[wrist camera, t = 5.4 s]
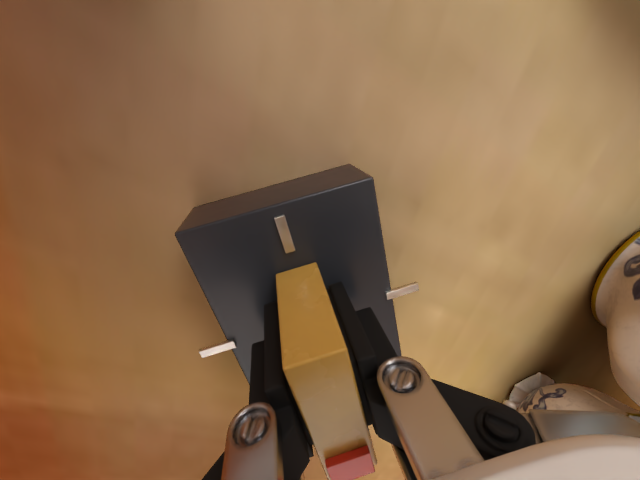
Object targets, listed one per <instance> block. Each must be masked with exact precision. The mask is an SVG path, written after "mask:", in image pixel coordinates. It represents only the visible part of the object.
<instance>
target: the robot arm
mask: <svg viewBox="0 0 640 480" xmlns="http://www.w3.org/2000/svg"><path fill="white" fill-rule="evenodd" d="M327 293H328V296H329V299H330V302H331V304H332V307H333V310H334V313H335V316H336V318H337V321H338V324H339V327H340V330H341V332H342V335H343V338H344V341H345V344H346V346H347V349H348V353H349V357H350V361H351V364H352V368H353V372H354V376H355V380H356V383H357V387H358V391H359V395H360V399H361V402H362V406H363V410H364V414H365V417H366V421H367V425H371V424H373V427H374V430H375V433H376V434H378V437H380V438H381V439H383V440H385V441H387V442H389V443H391V445H392V448H393V451H394V453H395V456H396V458H397V461H398V463H399V465H400V468H401V470H402V473H403V475H404V478H405V480H640V423H639V422H637V421H636V420H634V419H632V418H630V417H627V416H625V415H622V414H619V413H614V412H608V411H577V410H545V409H529V412H528V413H519V412H517V411H516V410H515V409H513V408H511V407H509V406H507V405H505V404H502V403H499V402H496V401H493V400H490V399H488V398H485V397H482V396H479V395H476V394H473V393H470V392H468V391H465V390H462V389H459V388H456V387H453V386H450V385H448V384H445V383H442V382H439V381H436V380H433V379H431V378H430V377H429V375H428V374H427V372H426V371H425V369H424V368H423V367H422V366H421V364H420V363H419V362H417V361H415V360H414V359H412V358H408V357H403V356H397V354H396V352H395V350H394V348H393V346H392V345H391V343H390V341H389V339H388V337H387V336H386V334H385V332H384V330H383V328H382V327H381V325H380V323H379V321H378V319H377V317H376V316H375V314H374V312H373V310H372V309H371V307H368V308H365V309H362V310H358V311H355V309H354V307H353V305H352V303H351V300H350V298H349V296H348V294H347V292H346V290H345V288H344V285H343V283H342V281H340V282H337V283H334V284H331V285H329V289H327ZM312 445H313V442H312V440H311V437H310V435H309V432H308V430H307V427H306V425H305V423H304V420H303V418H302V415H301V413H300V410H299V408H298V406H297V403H296V401H295V398H294V396H293V393H292V391H291V388H290V386H289V384H288V381H287V379H286V376H285V374H284V371H283V368H282V355H281V342H280V329H279V316H278V303H277V301H275V302H272V303H269V304H265V305H264V340H263V341H260V342H256V343H253V344H252V350H251V371H250V392H249V405H247V406H245V407H244V408H243V409H241V410H240V411H239V412H238V413H237V414H236V415H235V416H234V418H233V419H232V421H231V423H230V425H229V428H228V432H227V438H226V445H225V451H224V452H223V454H222V455H221V456H220V457H219V459H218V460H217V461H216V462H215V464H214V465H213V466H212V467H211V469H210V470H209V471H208V472H207V474H206V475H205V476H204V477H203V479H202V480H305V478H304V474H303V471H304V470H305V468H306V466H307V465H308V463H309V461H310V459H309V457H312V456H313V449H312Z"/></svg>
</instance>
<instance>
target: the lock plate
mask: <svg viewBox="0 0 640 480" xmlns="http://www.w3.org/2000/svg"><path fill="white" fill-rule="evenodd" d="M175 236H176V238H177V240H178V242H179V244H180V246H181V248H182V250H183V252H184V254H185V256H186V258H187V260H188V262H189V264H190V266H191V268H192V270H193V272H194V274H195V276H196V278H197V280H198V282H199V284H200V286H201V288H202V290H203V292H204V294H205V296H206V298H207V300H208V302H209V304H210V306H211V308H212V310H213V312H214V314H215V316H216V318H217V320H218V322H219V324H220V326H221V328H222V330H223V332H224V334H225V336H226V338H227V341H224V342H221V343H218V344H214V345H211V346H208V347H205V348H201V349H199V353H200V355H201V357H202V358H204V357H208V356H211V355H214V354H217V353H220V352H223V351H227V350H230V349H232V350H233V352H234V354H235V356H236V359H237V361H238V363H239V365H240V367H241V369H242V371H243V373H244V375H245V377H246V379H247V381H248V383H249V385H250V371H251V350H252V344H253V343H256V342H260V341H263V340H264V305H265V304H269V303H272V302H275V301H277V290H276V277H275V276H276V274H278V273H281V272H284V271H288V270H291V269H294V268H298V267H301V266H304V265H308V264H311V263H314V262H316V263H317V265H318V268H319V271H320V273H321V276H322V279H323V282H324V285H325V288H326V290H327V289H329V285H331V284H334V283H337V282H340V281H342V283H343V285H344V288H345V290H346V292H347V294H348V296H349V298H350V300H351V303H352V305H353V307H354V309H355V311H358V310H362V309H365V308H368V307H371V309H372V310H373V312H374V314H375V316H376V317H377V319H378V321H379V323H380V325H381V327H382V328H383V330H384V332H385V334H386V336H387V337H388V339H389V341H390V343H391V345H392V346H393V348H394V350H395V352H396V354H397V356H401V349H400V343H399V337H398V331H397V324H396V318H395V312H394V305H393V298H396V297H399V296H402V295H405V294H409V293H412V292H415V291H418V290H419V287H418V283H417V282H414V283H410V284H407V285H404V286H401V287H398V288H394V289H391V287H390V280H389V274H388V268H387V261H386V255H385V249H384V243H383V236H382V230H381V224H380V217H379V211H378V205H377V199H376V192H375V186H374V180H373V177H371V176H370V175H368V174H366V173H365V172H363V171H361V170H360V169H358V168H356V167H355V166H353V165H351V164H347V165H343V166H340V167H336V168H333V169H329V170H325V171H322V172H318V173H315V174H311V175H308V176H304V177H300V178H297V179H293V180H290V181H286V182H283V183H279V184H275V185H272V186H268V187H265V188H261V189H258V190H254V191H250V192H247V193H243V194H240V195H236V196H233V197H229V198H225V199H222V200H218V201H215V202H211V203H208V204H204V205H200V206H197V207H194V208H193V209H192V210H191V212H190V213H189V215H188V216H187V217H186V219H185V220H184V221H183V223H182V224H181V226H180V227H179V228H178V230H177V231H176V232H175Z"/></svg>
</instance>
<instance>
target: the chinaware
mask: <svg viewBox="0 0 640 480" xmlns="http://www.w3.org/2000/svg"><path fill="white" fill-rule="evenodd" d="M591 310H592V313H593V316H594V318H595V319H596V320H597V322H598V323H600V324H601V325H603V326H604V327H607V339H608V350H609V357H610V364H611V370H612V373H613V375H614V378H615V380H616V382H617V383H618V385H619V386H620V387H621V388H622V390H623V391H624V392H625V393H626V394H627V395H628V396H629V397H630V398H631V399H632V400H633V401H634V402H635V403H636V404H638V405H639V406H640V231H639V232H637V233H636V234H634V235H633V236H632V237H631V238H630V239H628V240H627V241H626V242H625V243H624V244H623V245H622V246H621V247H620V248H619V249H618V250H617V251H616V252H615V253H614V254H613V256H612V257H611V258H610V259H609V261H608V262H607V263H606V265H605V266H604V268H603V269H602V271H601V273H600V275H599V277H598V279H597V281H596V283H595V286H594V289H593V292H592V297H591ZM502 404H505V405H507V406H509V407H511V408H513V409H515V410H516V411H517V408H518V411H517V412H519V413H528V412H529V409H545V410H577V411H608V412H614V413H619V414H622V415H625V416H627V417H630V418H632V419H634V420H636V421H637V422H639V423H640V411H637V410H635V409H633V408H631V407H629V406H627V405H625V404H623V403H621V402H619V401H618V400H616V399H614V398H612V397H611V396H609V395H607V394H605V393H602V392H600V391H597V390H595V389H592V388H589V387H586V386H582V385H577V384H569V383H555V384H554V380H553V379H550V378H549V377H548V376H547V375H544V374H541V373H540V372H539V373H537V374H535V375H533V376H531V377H528V378H526V379H524V380H523V381H521V382H519V383H517V384H515V385H514V389H513V390H512V392H511V394H510V398H509V400H505V401H503V403H502Z"/></svg>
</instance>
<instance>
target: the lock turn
mask: <svg viewBox="0 0 640 480" xmlns="http://www.w3.org/2000/svg"><path fill="white" fill-rule="evenodd" d="M275 277H276V290H277V303H278V316H279V329H280V342H281V355H282V368H283V371H284V374H285V376H286V379H287V381H288V384H289V386H290V388H291V391H292V393H293V396H294V398H295V401H296V403H297V406H298V408H299V410H300V413H301V415H302V418H303V420H304V423H305V425H306V427H307V430H308V432H309V435H310V437H311V440H312V442H313V444H314V447H315V449H316V452H317V454H318V457H319V459H320V461H321V464H322V466H323V469H324V471H325V474H326V476H327V478H328V480H353V479H356V478H359V477H362V476H364V475H367V474H370V473H373V472H375V469H374V465H376V464H377V459H376V455H375V451H374V448H373V444H372V440H371V436H370V433H369V429H368V425H367V421H366V417H365V414H364V410H363V406H362V402H361V399H360V395H359V391H358V387H357V383H356V380H355V376H354V372H353V368H352V364H351V361H350V357H349V353H348V349H347V346H346V344H345V341H344V338H343V335H342V332H341V330H340V327H339V324H338V321H337V318H336V316H335V313H334V310H333V307H332V304H331V302H330V299H329V296H328V293H327V290H326V288H325V285H324V282H323V279H322V276H321V273H320V271H319V268H318V265H317V263H316V262H314V263H311V264H308V265H304V266H301V267H298V268H294V269H291V270H288V271H284V272H281V273H278V274H276V276H275Z"/></svg>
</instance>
